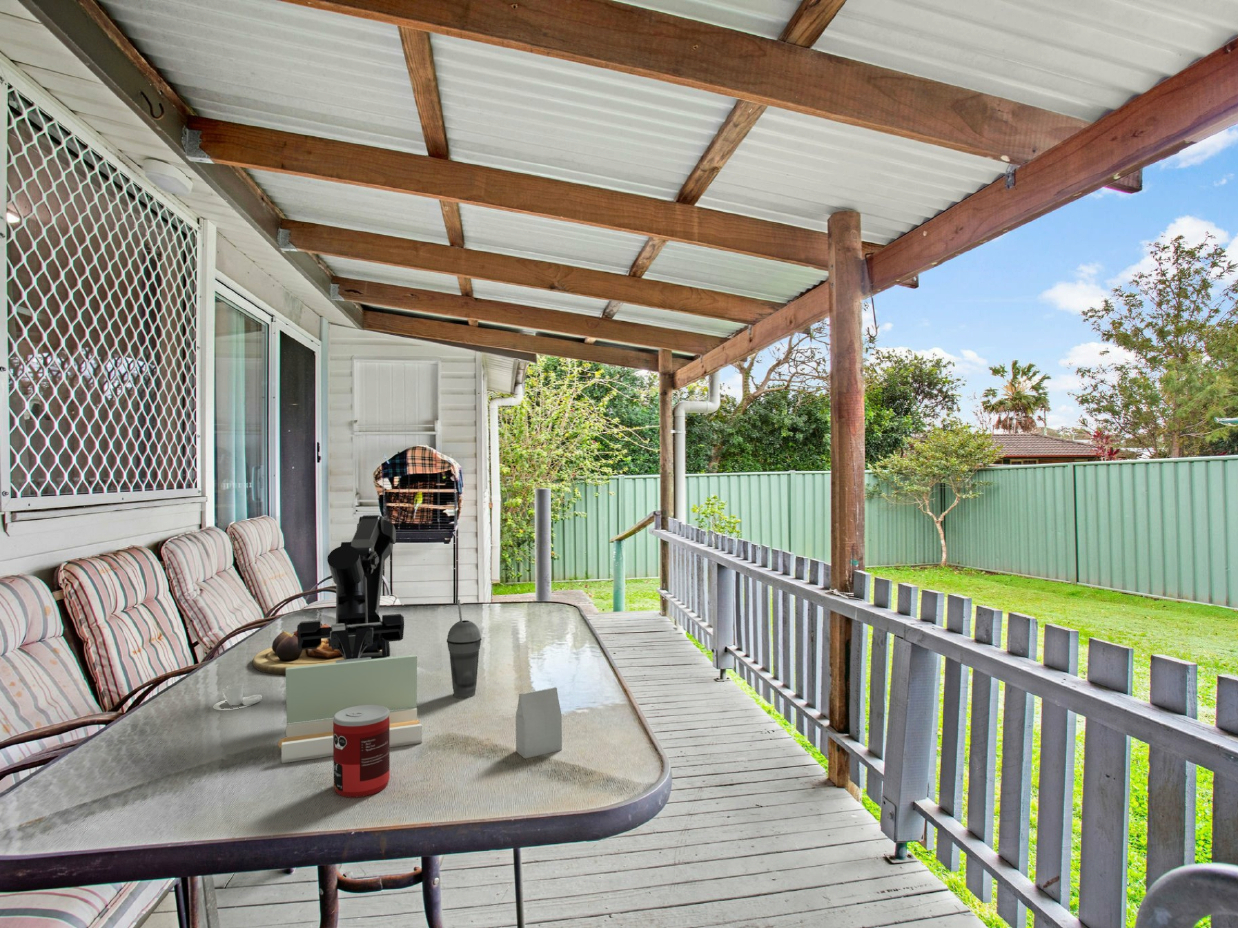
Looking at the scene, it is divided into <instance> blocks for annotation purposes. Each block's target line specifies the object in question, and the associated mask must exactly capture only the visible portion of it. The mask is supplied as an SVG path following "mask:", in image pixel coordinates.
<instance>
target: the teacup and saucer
mask: <svg viewBox="0 0 1238 928" xmlns="http://www.w3.org/2000/svg"><path fill="white" fill-rule="evenodd" d="M244 685H245V684H243V683H234V684H229V685H227V686H226V687H224V688H222V690H221V695H222V696H223V698H224V700H221V701H219V702H216V703H215V704H214V705H213V706H212V708H213V709H214V710H217V711H234V710H240V709H244V708H248V707H250V706H253V705H255V704H257V703H259V702H261V701H262V700H263V696H262V694H253V695H250V696H244V688H245V687H244ZM225 690H226V695H225ZM225 701H227V702H225ZM224 703H227V704H228V706H230V707H231V706H232V705H235V706H238V707H239V708H240V709H239V708H238V707H232V708H233V709H230V708H224V709H221V708H222V707H221V706H220V705H222V704H224ZM241 704H242V705H243V706H239V705H241Z"/></svg>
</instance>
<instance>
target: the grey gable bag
mask: <svg viewBox="0 0 1238 928" xmlns="http://www.w3.org/2000/svg"><path fill="white" fill-rule="evenodd" d="M516 707H517V708H516V712H515V752H516V753H518V755H520V756H521V757H522V758H523V759H529V758H534V757H539V756H542V755H546V754H549V753H550V754H551V753H554V752H558V751H562V750H563V739H562V738H563V737H562V735H563V733H562V732H563V730H562V729H563V727H562V722H563V721H562V720H563V719H562V717H563V716H562V715H563V714H562V711H561V710H562V709H561V705H560V700H559V694H558V688H557V687H556V686H555V687H550V688H544V689H539V690H531V691H527V692H523V693H522V692H521V693H519V694H518V702H517V706H516Z"/></svg>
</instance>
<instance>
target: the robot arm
mask: <svg viewBox="0 0 1238 928" xmlns="http://www.w3.org/2000/svg"><path fill="white" fill-rule="evenodd" d="M396 540H397V531H396V527H395V525H394V523H393V522H391V521H388V520H387V519H385V518H384V516H383V515H380V514H373V515H372V514H370V515H369V514H368V515H366V514H365V515H362V516H359V519H358V523H357V524H356V530H355V533H354V535H353V538H352V540H351V541H341V543H340V546H337V547H336V548H334V549H333V550H331V551H330V553H329V554H328V555H327V564H328V567H329V570H330V574H331V577H332V580H333V583H334V584H335V596H336V597H335V623H332V624H331V625H330V627H323V628H321V623H322V622H321V619H315V620H305V621H300V622H299V623H298V624H297V627H296V631H297V639H298V649H301V650H306V649H316V648H318V647H319V646H320V645H321V639H326V638H328V639H329V647H331V648H332V649H333V650H339V652H340V653H341V654H342V655H343V657H344V660H346V659H356V658H366V657H371V659H378V658H388V657H391V646H390V645H391V644H390V642H391V643H392V642H400V641H402V640H403V639H404V633H405V617H404V616H403V614H401V613H392V614H382V617H380V615H379V612H380V603H381V595H382V594H381V593H382V585H383V578H384V577H383V574H384V566H385V561H386V560H387V559H388V557H390V555H391V554H392V553H393V546H394V544H396V543H397V542H396ZM380 650H382V651H380Z"/></svg>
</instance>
